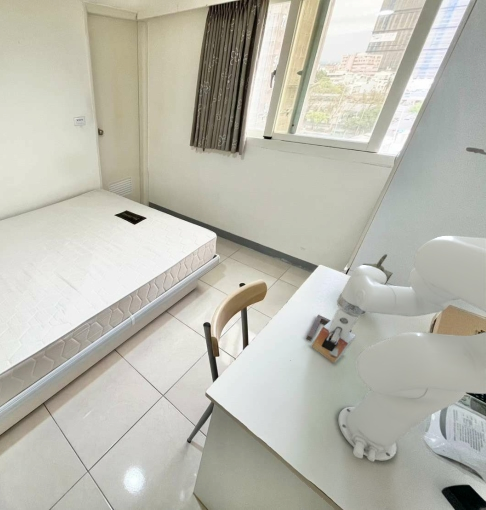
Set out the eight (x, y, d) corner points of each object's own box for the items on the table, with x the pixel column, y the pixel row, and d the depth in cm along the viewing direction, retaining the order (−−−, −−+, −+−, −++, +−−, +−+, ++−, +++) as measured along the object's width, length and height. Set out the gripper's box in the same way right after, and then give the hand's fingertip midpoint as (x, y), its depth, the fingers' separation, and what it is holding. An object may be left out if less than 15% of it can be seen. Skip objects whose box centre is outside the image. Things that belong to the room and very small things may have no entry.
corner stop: (341, 357, 91) (343, 353, 90) (305, 338, 97) (307, 335, 96) (349, 333, 99) (351, 330, 98) (316, 318, 105) (318, 314, 104)
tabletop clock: (357, 319, 105) (391, 268, 91) (333, 305, 111) (361, 255, 97) (372, 303, 112) (405, 254, 98) (349, 291, 118) (377, 243, 104)
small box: (310, 346, 94) (322, 326, 88) (319, 339, 97) (330, 319, 91) (334, 363, 89) (348, 343, 83) (342, 355, 92) (356, 335, 86)
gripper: (362, 326, 74) (336, 364, 84) (372, 294, 85) (347, 331, 95) (332, 312, 78) (310, 350, 88) (344, 283, 89) (324, 320, 99)
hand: (329, 340), depth 91 cm, fingers open, 7 cm apart
